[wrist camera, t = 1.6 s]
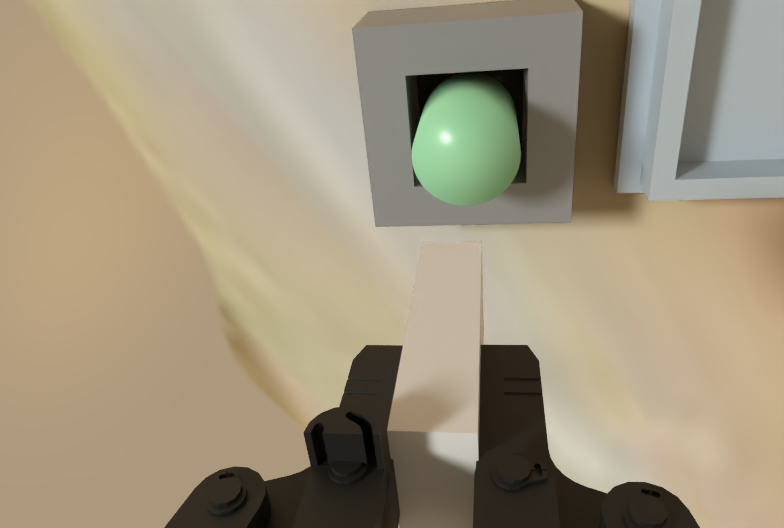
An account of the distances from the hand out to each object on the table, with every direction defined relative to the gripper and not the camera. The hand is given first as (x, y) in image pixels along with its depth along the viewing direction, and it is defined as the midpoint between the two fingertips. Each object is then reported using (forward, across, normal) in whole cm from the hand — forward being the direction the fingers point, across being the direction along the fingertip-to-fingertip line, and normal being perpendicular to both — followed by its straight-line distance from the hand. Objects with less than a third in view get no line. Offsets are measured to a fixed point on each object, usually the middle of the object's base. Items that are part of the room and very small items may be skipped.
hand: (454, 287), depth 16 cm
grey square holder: (+16, 0, 0) cm, 16 cm away
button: (+14, 0, 0) cm, 14 cm away
